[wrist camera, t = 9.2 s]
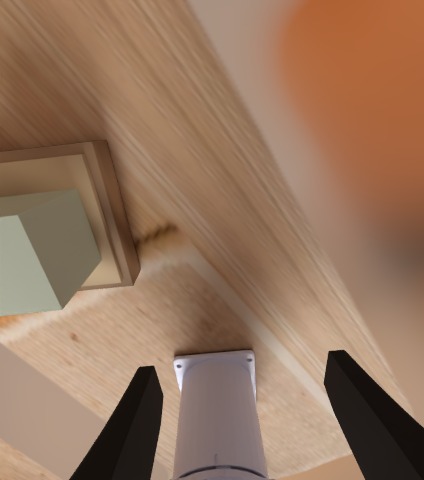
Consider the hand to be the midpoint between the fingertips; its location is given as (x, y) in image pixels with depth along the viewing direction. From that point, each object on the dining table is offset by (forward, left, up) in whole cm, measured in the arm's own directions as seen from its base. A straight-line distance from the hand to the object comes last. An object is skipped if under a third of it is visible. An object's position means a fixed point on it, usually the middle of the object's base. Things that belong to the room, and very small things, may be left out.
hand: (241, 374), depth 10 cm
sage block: (+4, +11, -8) cm, 14 cm away
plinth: (+4, +11, -10) cm, 16 cm away
